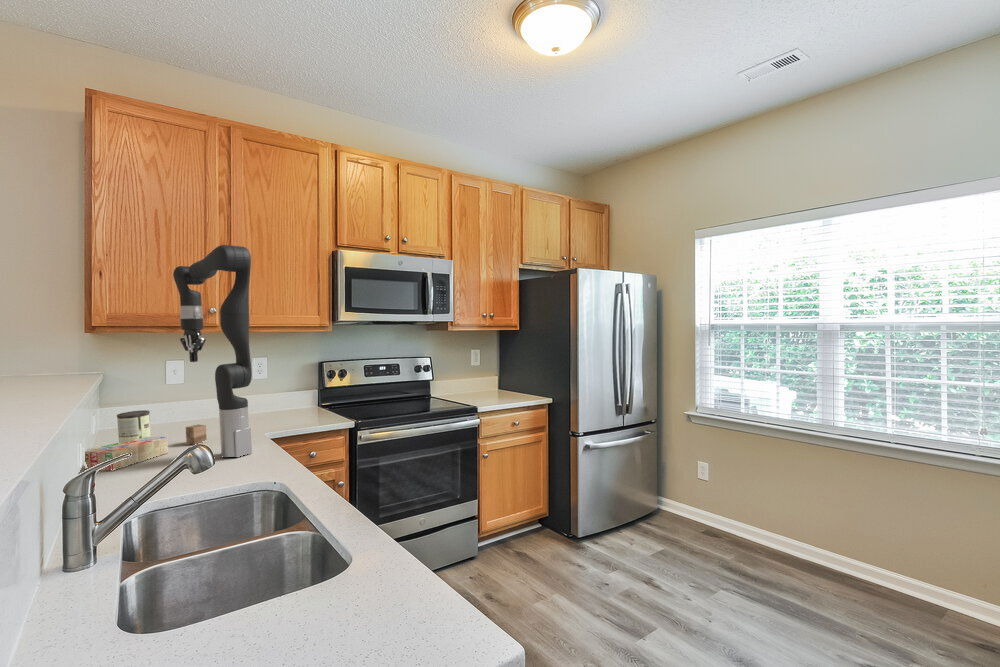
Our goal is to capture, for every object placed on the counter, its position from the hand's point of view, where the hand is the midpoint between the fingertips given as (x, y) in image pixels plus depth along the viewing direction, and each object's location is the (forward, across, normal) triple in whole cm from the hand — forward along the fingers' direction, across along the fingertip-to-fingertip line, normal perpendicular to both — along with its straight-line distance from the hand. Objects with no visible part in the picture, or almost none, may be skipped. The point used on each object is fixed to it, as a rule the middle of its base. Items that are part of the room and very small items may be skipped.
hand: (193, 361), depth 193 cm
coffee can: (+33, -20, -12) cm, 41 cm away
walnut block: (+33, -4, +2) cm, 33 cm away
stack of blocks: (+30, +4, -22) cm, 37 cm away
